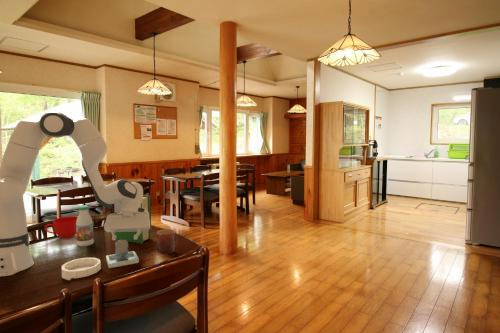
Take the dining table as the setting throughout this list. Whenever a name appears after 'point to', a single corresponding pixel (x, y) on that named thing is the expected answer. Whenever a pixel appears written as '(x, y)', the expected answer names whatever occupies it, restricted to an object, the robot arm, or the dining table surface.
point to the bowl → (80, 268)
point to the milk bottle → (84, 227)
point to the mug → (166, 240)
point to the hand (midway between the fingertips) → (124, 239)
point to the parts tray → (112, 261)
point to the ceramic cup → (64, 227)
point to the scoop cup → (121, 250)
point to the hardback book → (130, 235)
